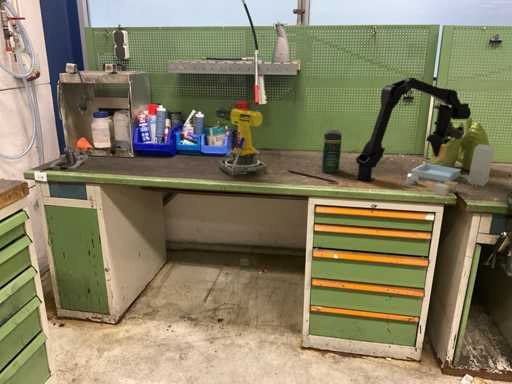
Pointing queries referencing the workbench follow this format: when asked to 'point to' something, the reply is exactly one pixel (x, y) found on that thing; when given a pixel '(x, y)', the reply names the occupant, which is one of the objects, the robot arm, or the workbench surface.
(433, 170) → the parts tray
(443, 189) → the offwhite block
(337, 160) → the coffee jar
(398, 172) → the workbench surface
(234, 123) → the cordless drill
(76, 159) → the bike brake
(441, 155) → the orange block
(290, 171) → the crowbar
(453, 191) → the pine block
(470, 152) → the lungs
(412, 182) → the grey metal puck
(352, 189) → the workbench surface
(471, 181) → the skincare box
